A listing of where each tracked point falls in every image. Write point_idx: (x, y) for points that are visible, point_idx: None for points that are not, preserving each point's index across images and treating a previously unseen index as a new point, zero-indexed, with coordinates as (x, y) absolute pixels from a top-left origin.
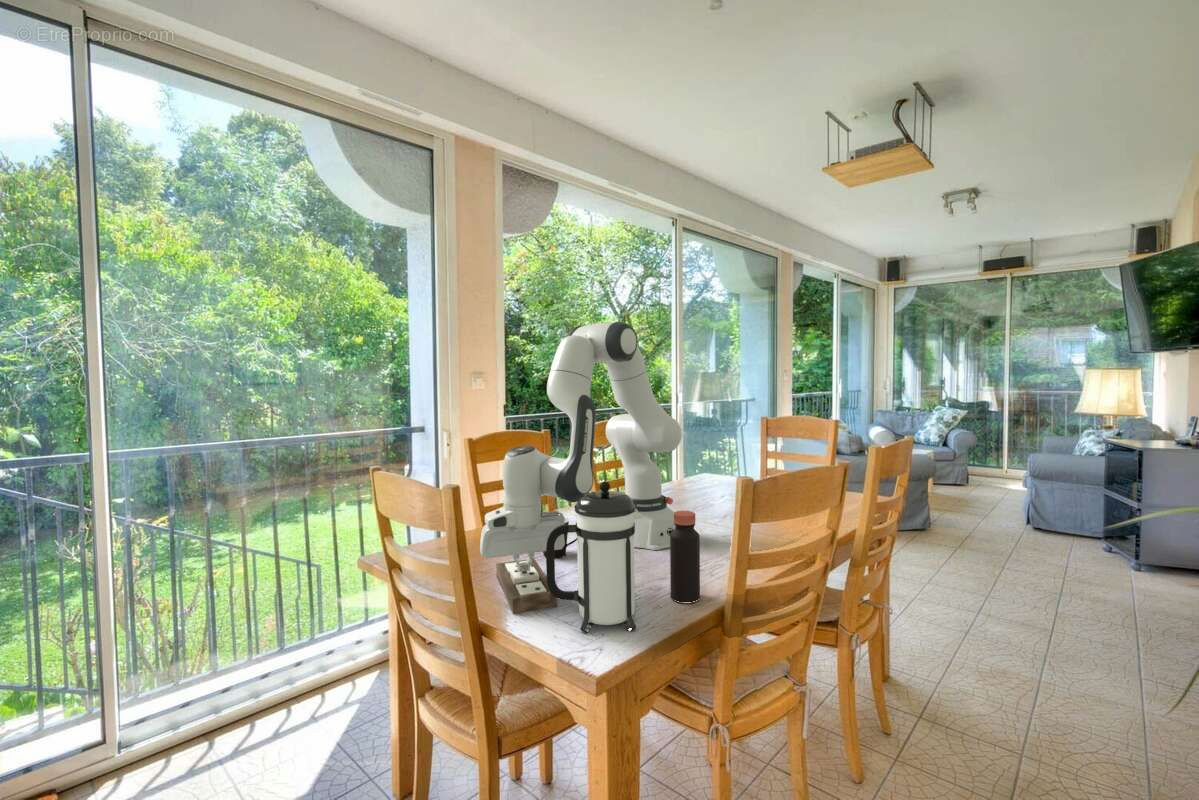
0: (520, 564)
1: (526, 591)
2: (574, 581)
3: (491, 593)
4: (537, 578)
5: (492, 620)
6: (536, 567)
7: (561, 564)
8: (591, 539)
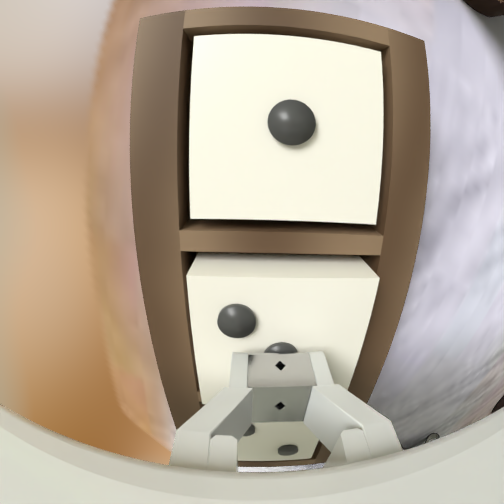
0: (253, 411)
1: (241, 452)
2: (474, 269)
3: (118, 261)
4: None
5: (141, 424)
6: (404, 212)
7: (489, 71)
8: None
